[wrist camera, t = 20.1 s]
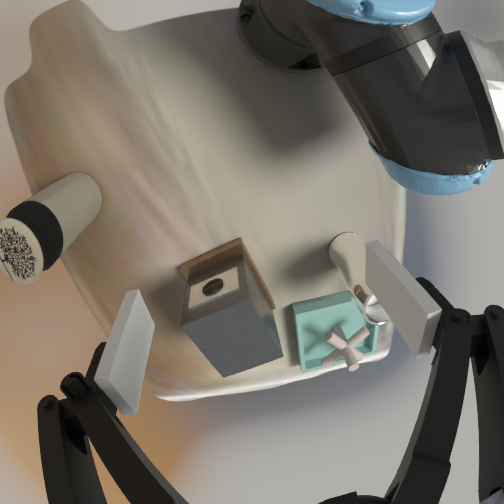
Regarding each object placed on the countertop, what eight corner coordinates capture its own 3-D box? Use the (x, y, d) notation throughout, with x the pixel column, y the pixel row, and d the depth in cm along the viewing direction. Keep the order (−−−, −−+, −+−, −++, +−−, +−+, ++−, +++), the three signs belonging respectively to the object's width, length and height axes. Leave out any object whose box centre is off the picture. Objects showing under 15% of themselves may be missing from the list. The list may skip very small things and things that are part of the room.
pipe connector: (370, 323, 54) (390, 359, 46) (332, 354, 57) (346, 392, 48) (341, 298, 51) (361, 337, 42) (300, 334, 54) (312, 375, 45)
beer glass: (370, 233, 46) (419, 283, 33) (356, 270, 49) (395, 327, 36) (333, 225, 45) (376, 277, 32) (319, 264, 48) (353, 325, 35)
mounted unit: (181, 264, 46) (170, 318, 34) (240, 237, 45) (247, 286, 33) (220, 322, 52) (222, 380, 40) (273, 300, 50) (288, 357, 39)
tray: (291, 303, 51) (295, 314, 48) (375, 283, 51) (382, 292, 48) (299, 362, 58) (302, 372, 56) (370, 343, 58) (375, 352, 56)
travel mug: (94, 165, 37) (25, 208, 21) (109, 216, 41) (55, 282, 25) (52, 179, 37) (-21, 226, 21) (67, 227, 41) (7, 291, 25)
